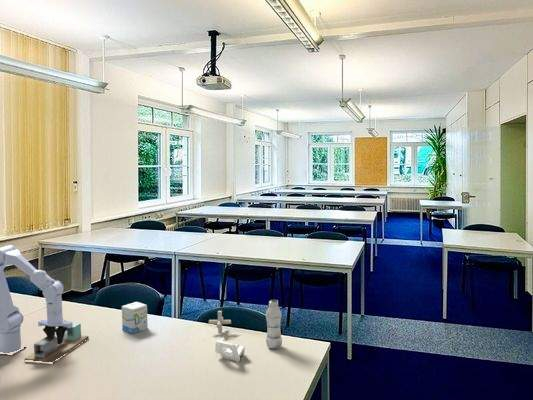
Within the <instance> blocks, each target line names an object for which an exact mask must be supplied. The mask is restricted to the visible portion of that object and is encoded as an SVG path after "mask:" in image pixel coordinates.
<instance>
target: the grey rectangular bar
mask: <svg viewBox="0 0 533 400" xmlns="http://www.w3.org/2000/svg"><path fill="white" fill-rule="evenodd" d="M52 337H57V336H56V333H55V335H53V336H52ZM67 338H68V337H67V331H65V334H64V337H63V341H64V340H66V339H67ZM57 345H58V343H57ZM39 346H40V351H43V346H41V345H39Z"/></svg>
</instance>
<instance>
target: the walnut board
mask: <svg viewBox="0 0 533 400" xmlns="http://www.w3.org/2000/svg"><path fill="white" fill-rule="evenodd" d="M87 339H88V340H89V335H81V337H79V338H78V339H76V340H64V341H63V342H62V343H61V344H60V345H58V351H56V352H55V353H53V354H52V355H50V356H49V357H47V358H46V359H41V358H35V355H34V352H32V353H31V354H29V355H28V356H26V357H24V361H25V360H33V361H42V362H53V361H55V360H56V359H58V358H60V357H61V356H63V355H64V354H66V353H68V352H69V351H70V350H72V349H73V348H75V347H76V346H78V345H79V344H81V343H82V342H84V341H85V340H87ZM88 340H87V341H88ZM85 342H86V341H85ZM85 342H84V343H85ZM82 344H83V343H82ZM82 344H81V345H82ZM78 347H79V346H78ZM75 349H76V348H75ZM72 351H73V350H72ZM69 353H70V352H69ZM69 353H68V354H69ZM66 355H67V354H66ZM63 357H64V356H63Z"/></svg>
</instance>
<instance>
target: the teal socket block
mask: <svg viewBox="0 0 533 400" xmlns="http://www.w3.org/2000/svg"><path fill="white" fill-rule="evenodd" d="M72 324H73V326H72V327H71V328H67V329H66V331H67V337H68V338H67V339H66V340H76V339H78V338H79V337H81V336H82V326H81V325H82V324H81V323H78V322H77V323H76V322H72Z"/></svg>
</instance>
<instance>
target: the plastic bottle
mask: <svg viewBox="0 0 533 400" xmlns="http://www.w3.org/2000/svg"><path fill="white" fill-rule="evenodd" d="M268 306H269V307H268V308H267V309H266V311H265V318H266V326H267V329H266V330H267V332H266V338H265V339H266V341H265V342H266V346H267V348H268V349H271V350H277V349H280V348H281V347H282V345H283V340H282V339H283V338H282V333H281V322H282V310H280V308H279V300H278V299H270V300H269V301H268Z"/></svg>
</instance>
